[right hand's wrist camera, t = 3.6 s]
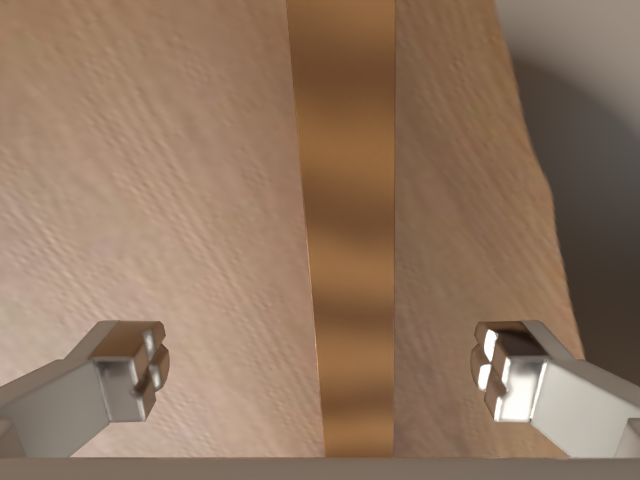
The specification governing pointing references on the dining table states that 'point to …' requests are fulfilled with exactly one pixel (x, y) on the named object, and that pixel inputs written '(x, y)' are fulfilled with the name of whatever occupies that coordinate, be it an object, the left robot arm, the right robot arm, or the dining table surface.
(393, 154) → the beam
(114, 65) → the dining table surface
